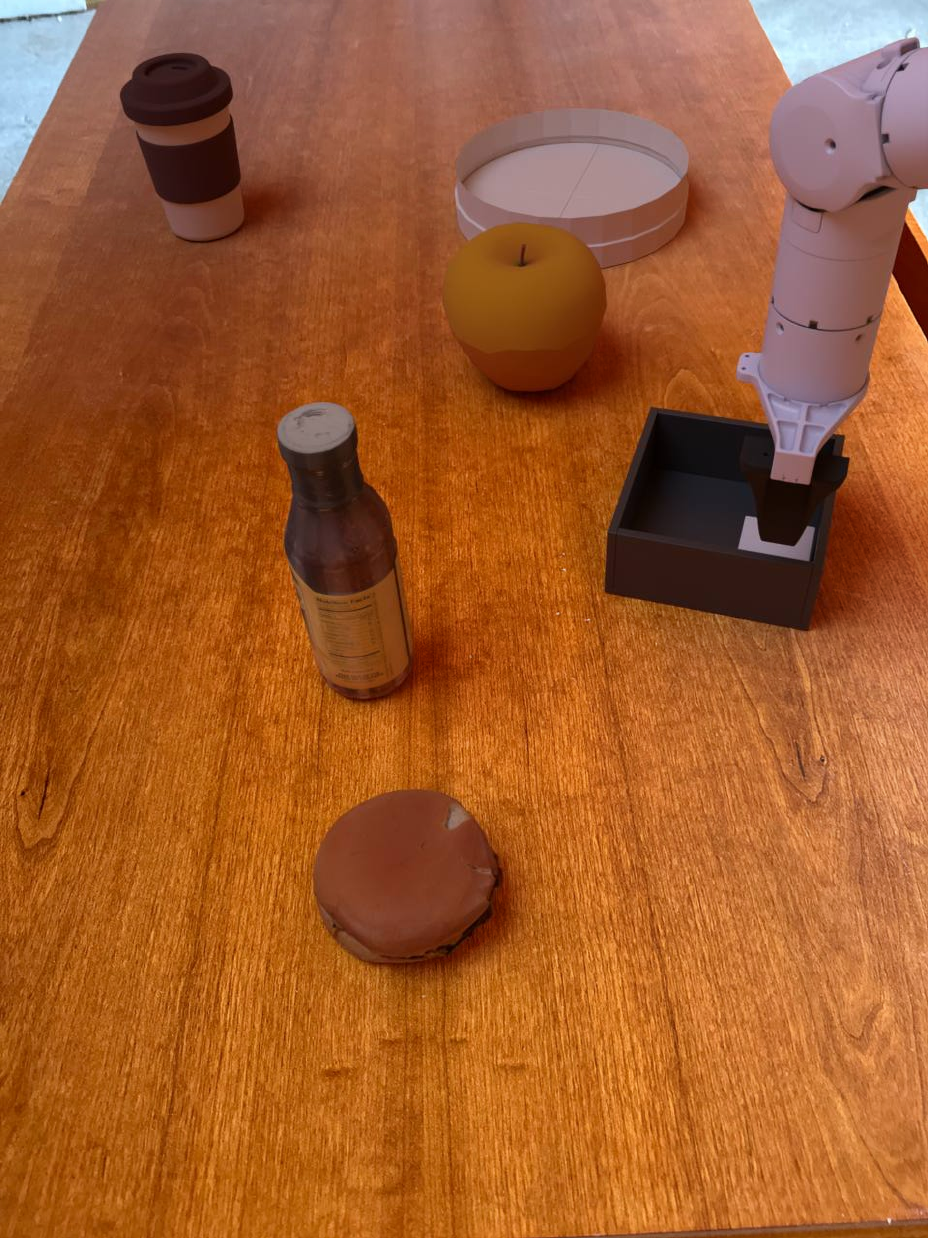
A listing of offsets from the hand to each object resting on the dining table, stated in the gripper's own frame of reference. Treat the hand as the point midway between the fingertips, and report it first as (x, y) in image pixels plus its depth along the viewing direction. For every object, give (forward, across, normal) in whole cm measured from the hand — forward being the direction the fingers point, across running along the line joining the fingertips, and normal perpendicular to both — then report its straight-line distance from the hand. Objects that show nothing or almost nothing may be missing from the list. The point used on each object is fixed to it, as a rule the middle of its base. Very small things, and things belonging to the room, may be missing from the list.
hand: (787, 497), depth 69 cm
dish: (+8, -45, -25) cm, 53 cm away
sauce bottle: (+8, +14, -23) cm, 28 cm away
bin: (+8, -3, -4) cm, 9 cm away
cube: (+7, 0, 0) cm, 7 cm away
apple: (+8, -19, -22) cm, 31 cm away
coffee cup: (+8, -35, -59) cm, 69 cm away
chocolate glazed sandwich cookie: (+8, +28, -15) cm, 33 cm away
